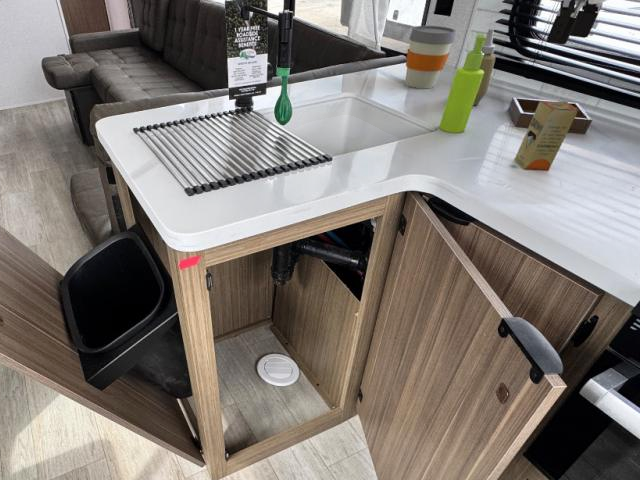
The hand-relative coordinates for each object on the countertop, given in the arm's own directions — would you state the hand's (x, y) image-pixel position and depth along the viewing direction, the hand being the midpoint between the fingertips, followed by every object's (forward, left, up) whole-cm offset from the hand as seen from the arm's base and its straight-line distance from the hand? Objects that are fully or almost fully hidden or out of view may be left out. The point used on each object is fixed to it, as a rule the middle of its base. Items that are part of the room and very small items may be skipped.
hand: (566, 39), depth 80 cm
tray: (-10, -27, -22) cm, 37 cm away
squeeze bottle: (+8, -37, -22) cm, 44 cm away
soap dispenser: (+13, -14, -22) cm, 29 cm away
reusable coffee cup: (+21, -52, -22) cm, 60 cm away
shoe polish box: (-2, +4, -22) cm, 23 cm away
